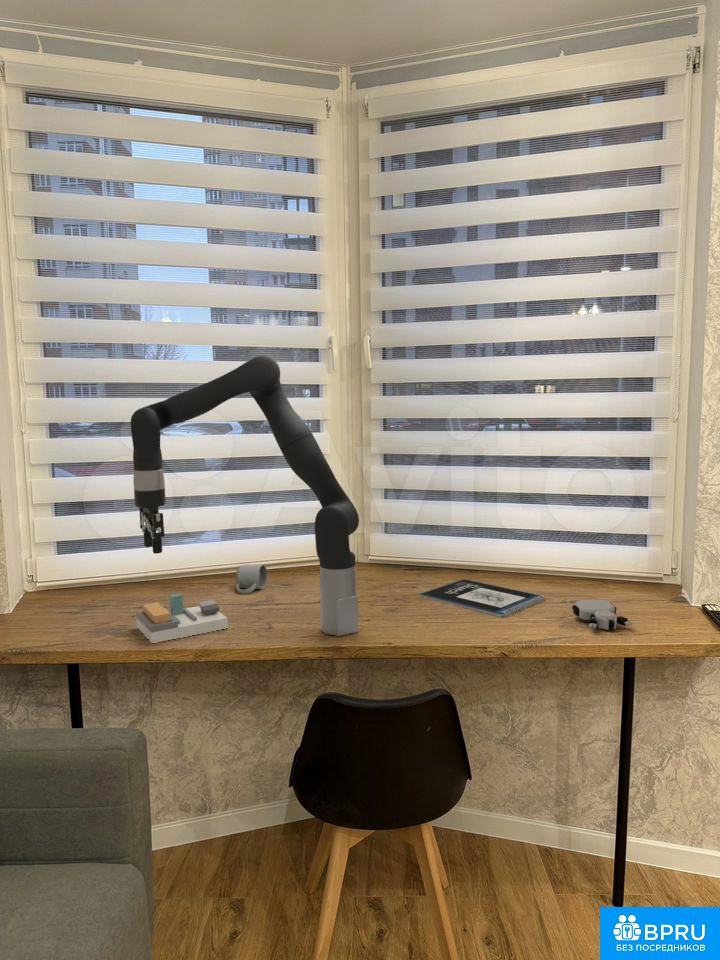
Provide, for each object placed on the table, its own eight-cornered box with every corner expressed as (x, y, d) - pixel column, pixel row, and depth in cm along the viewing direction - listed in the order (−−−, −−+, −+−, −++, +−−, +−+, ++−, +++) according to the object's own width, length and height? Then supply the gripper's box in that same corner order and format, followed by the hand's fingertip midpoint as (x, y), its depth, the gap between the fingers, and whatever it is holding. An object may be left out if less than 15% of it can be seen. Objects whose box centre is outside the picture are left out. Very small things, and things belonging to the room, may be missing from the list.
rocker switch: (219, 614, 195) (219, 607, 195) (204, 617, 193) (204, 610, 193) (212, 606, 199) (213, 599, 199) (198, 608, 197) (198, 602, 197)
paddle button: (170, 620, 185) (170, 613, 185) (154, 623, 183) (154, 616, 183) (158, 609, 194) (158, 602, 194) (143, 612, 192) (142, 604, 192)
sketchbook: (463, 583, 232) (463, 576, 232) (546, 602, 211) (547, 595, 211) (419, 597, 217) (419, 590, 217) (504, 619, 196) (504, 612, 196)
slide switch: (183, 613, 196) (182, 595, 195) (173, 615, 194) (172, 597, 193) (181, 611, 197) (180, 593, 197) (170, 613, 196) (169, 595, 195)
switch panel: (227, 628, 192) (227, 612, 191) (151, 644, 182) (150, 626, 181) (209, 614, 204) (208, 598, 203) (137, 628, 194) (136, 611, 193)
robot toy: (635, 635, 185) (608, 612, 199) (636, 618, 184) (609, 596, 198) (588, 638, 183) (565, 614, 198) (589, 621, 182) (566, 598, 197)
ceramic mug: (244, 583, 233) (243, 560, 232) (268, 585, 231) (267, 561, 230) (230, 594, 223) (229, 569, 222) (255, 595, 221) (254, 571, 220)
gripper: (172, 489, 180) (175, 553, 183) (156, 482, 192) (160, 542, 195) (141, 492, 176) (145, 557, 179) (127, 485, 189) (131, 546, 191)
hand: (153, 549), depth 187 cm, fingers open, 8 cm apart
